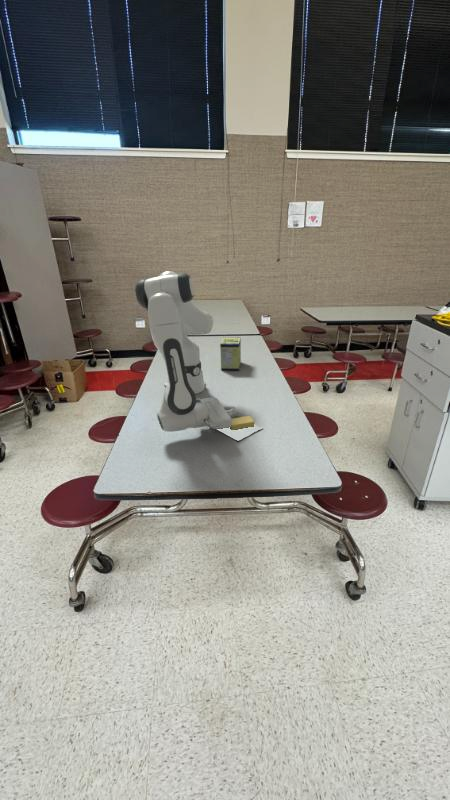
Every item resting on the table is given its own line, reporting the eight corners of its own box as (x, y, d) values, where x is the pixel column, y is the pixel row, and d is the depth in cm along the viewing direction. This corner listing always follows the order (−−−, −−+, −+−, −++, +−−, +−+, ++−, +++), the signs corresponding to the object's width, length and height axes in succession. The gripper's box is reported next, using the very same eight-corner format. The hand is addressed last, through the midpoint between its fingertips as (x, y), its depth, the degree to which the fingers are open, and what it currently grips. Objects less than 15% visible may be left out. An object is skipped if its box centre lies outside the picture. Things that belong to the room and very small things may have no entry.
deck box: (231, 425, 140) (254, 421, 142) (227, 419, 144) (249, 415, 147) (231, 430, 141) (254, 426, 143) (227, 424, 145) (249, 420, 148)
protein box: (240, 362, 214) (240, 336, 208) (239, 371, 200) (239, 344, 194) (223, 361, 215) (222, 336, 209) (220, 371, 201) (220, 344, 195)
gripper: (207, 420, 126) (244, 413, 130) (194, 397, 144) (226, 392, 147) (208, 435, 129) (244, 429, 132) (195, 411, 146) (227, 405, 150)
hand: (235, 409), depth 140 cm, fingers closed
